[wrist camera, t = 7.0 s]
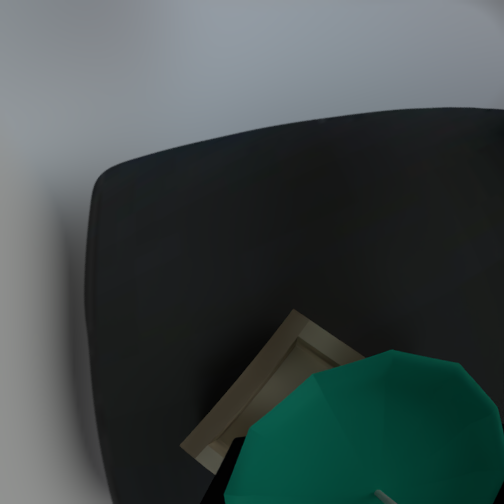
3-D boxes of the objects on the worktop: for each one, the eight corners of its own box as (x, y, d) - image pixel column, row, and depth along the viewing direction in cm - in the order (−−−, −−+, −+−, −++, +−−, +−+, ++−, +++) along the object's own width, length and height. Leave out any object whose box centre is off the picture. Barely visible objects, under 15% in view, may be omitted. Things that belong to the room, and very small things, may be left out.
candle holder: (407, 403, 19) (433, 402, 15) (317, 519, 16) (324, 542, 12) (291, 325, 23) (293, 308, 19) (198, 438, 20) (179, 445, 16)
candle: (380, 382, 14) (549, 316, 4) (373, 490, 12) (511, 589, 1) (264, 382, 15) (217, 328, 4) (255, 492, 12) (196, 640, 2)
